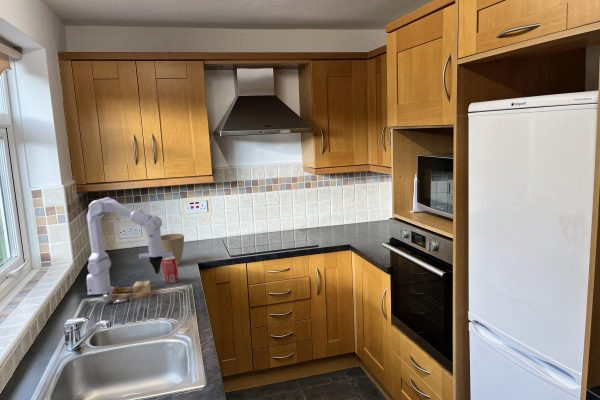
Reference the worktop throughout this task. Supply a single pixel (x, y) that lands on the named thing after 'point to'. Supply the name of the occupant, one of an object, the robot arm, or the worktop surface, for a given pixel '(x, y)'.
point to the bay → (131, 295)
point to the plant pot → (173, 245)
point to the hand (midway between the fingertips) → (157, 272)
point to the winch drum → (108, 298)
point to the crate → (141, 287)
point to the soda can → (170, 269)
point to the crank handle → (122, 300)
